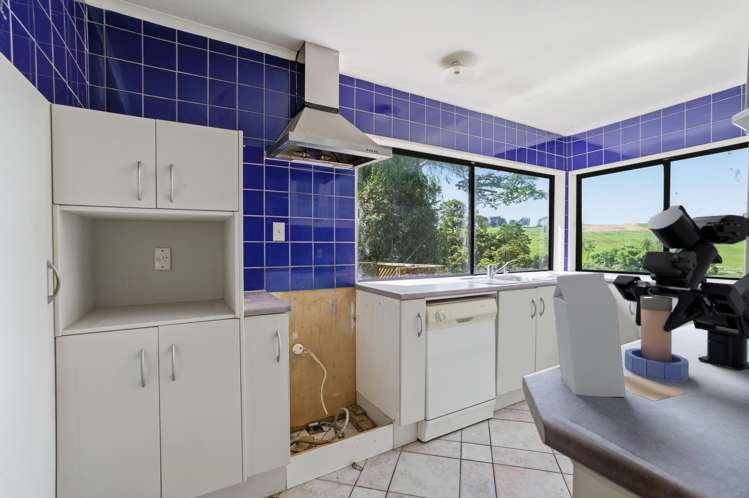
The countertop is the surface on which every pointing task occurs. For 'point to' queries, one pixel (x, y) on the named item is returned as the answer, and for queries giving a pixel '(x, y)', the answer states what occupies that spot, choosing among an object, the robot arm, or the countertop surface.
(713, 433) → the countertop surface
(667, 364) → the bowl
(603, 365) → the milk carton
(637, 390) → the cork mat
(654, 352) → the spice jar
